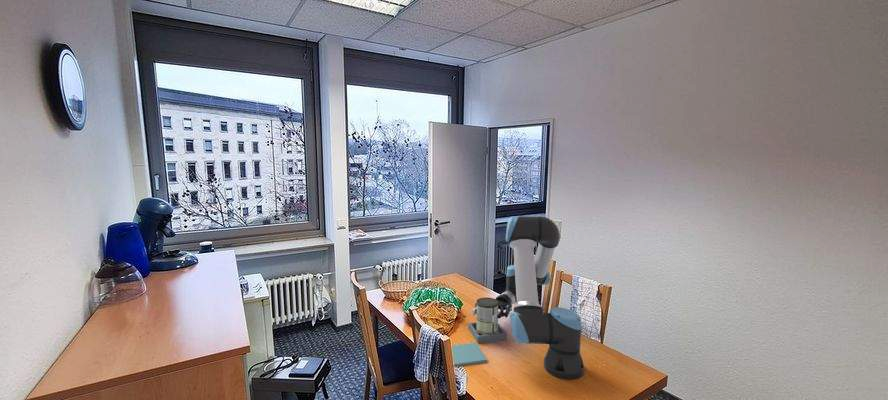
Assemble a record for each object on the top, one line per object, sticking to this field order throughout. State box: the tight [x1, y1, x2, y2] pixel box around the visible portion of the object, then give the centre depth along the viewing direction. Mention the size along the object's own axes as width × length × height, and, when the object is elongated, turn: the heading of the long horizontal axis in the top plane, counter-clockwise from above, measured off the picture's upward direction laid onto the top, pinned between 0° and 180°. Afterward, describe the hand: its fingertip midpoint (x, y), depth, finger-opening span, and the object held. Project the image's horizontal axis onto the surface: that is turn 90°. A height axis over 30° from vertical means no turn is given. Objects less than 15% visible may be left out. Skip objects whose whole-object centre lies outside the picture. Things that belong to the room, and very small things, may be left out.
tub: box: [467, 321, 508, 344], centre depth 168 cm, size 14×14×3 cm
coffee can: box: [475, 296, 499, 335], centre depth 167 cm, size 10×10×14 cm
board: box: [452, 342, 488, 367], centre depth 150 cm, size 14×14×1 cm
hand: (482, 315), depth 164 cm, fingers closed on coffee can, 10 cm apart
